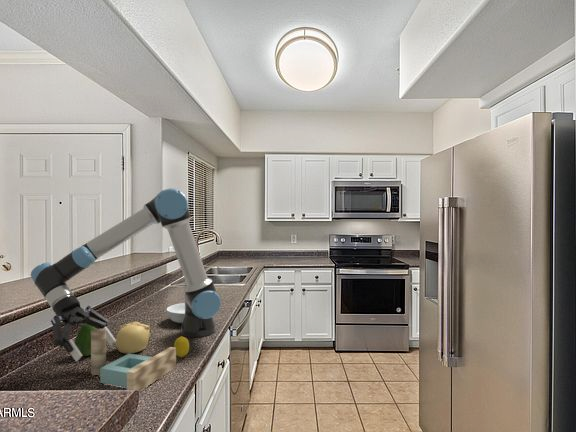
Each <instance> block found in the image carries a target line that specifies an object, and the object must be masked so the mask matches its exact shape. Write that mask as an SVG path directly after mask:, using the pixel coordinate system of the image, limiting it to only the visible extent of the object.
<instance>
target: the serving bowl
mask: <svg viewBox="0 0 576 432" xmlns="http://www.w3.org/2000/svg"><path fill="white" fill-rule="evenodd" d="M166 313H167V314H166V315H167V317H168V318H169V319H170V321H172V322H174V323H177V324H182V323H183V320H184V317H185V302H181V303H176V304H172V305H169V306H168V307H167V308H166Z"/></svg>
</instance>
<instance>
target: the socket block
mask: <svg viewBox="0 0 576 432" xmlns="http://www.w3.org/2000/svg"><path fill="white" fill-rule="evenodd" d="M152 357H153V356H147V355H141V354H140V355H139V354H135V353H131V354H125V355H123V356H121V357H119V358H118V359H116V360H113V361H111V362H109V363H108V364H107V363H106V365H105V366H103V367H102V368H100V375H99V377H100V379H99V380H100V381H99V382H100V383H105V384H112V385H117V386H121V387H125V388H127V371H129V370H131V369H132V368H134V367H136V366H138V365H139V364H141V363H143V362H145V361H146V360H148V359H150V358H152ZM100 383H99V384H100Z"/></svg>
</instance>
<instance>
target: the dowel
mask: <svg viewBox="0 0 576 432" xmlns="http://www.w3.org/2000/svg"><path fill="white" fill-rule="evenodd" d="M105 365H107V341H106V329H98V328H95V330H92V331H91V355H90V375H91V374H92V375H91V376H93V375H98V374H100V368H102V367H103V366H105ZM98 376H99V375H98Z"/></svg>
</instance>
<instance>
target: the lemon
mask: <svg viewBox="0 0 576 432" xmlns="http://www.w3.org/2000/svg"><path fill="white" fill-rule="evenodd" d="M173 343H174V344H173V347H174V348H176V357H179V358H181V359H182V357H183V358H184V357H186V356H187V355H188V353H189V350H190V341H189V340H188V337H186V336H184V335H181V336H180V337H178V338H177V337H176V339H175V341H174V342H173Z"/></svg>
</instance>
